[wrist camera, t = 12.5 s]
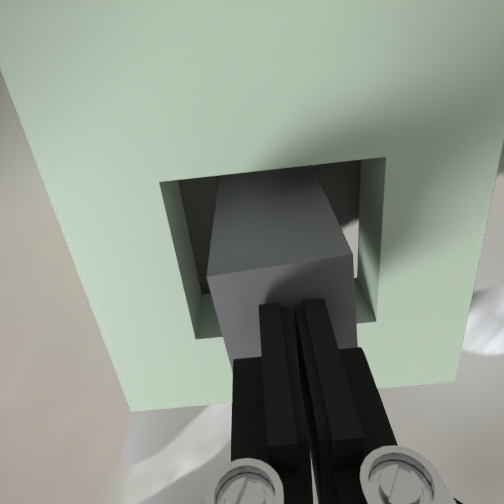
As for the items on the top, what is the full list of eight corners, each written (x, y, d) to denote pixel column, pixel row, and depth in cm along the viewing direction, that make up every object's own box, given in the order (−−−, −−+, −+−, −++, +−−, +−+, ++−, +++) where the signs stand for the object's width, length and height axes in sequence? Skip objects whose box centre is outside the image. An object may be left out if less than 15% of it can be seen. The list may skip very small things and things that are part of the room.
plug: (219, 174, 16) (206, 277, 10) (309, 159, 16) (352, 253, 10) (240, 271, 18) (240, 402, 12) (319, 259, 18) (360, 385, 12)
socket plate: (-41, -205, 11) (-130, -273, 8) (516, -285, 10) (609, -384, 8) (144, 361, 21) (131, 411, 18) (427, 333, 20) (454, 381, 18)
